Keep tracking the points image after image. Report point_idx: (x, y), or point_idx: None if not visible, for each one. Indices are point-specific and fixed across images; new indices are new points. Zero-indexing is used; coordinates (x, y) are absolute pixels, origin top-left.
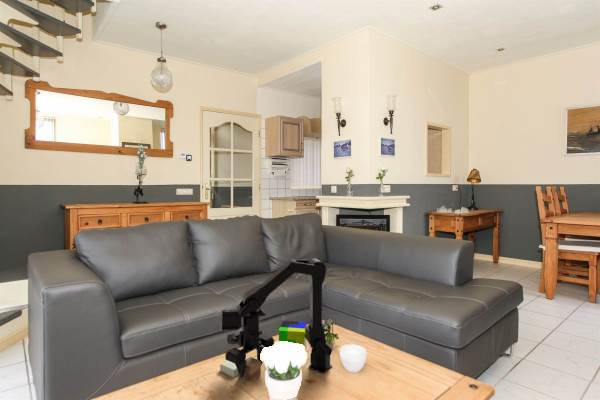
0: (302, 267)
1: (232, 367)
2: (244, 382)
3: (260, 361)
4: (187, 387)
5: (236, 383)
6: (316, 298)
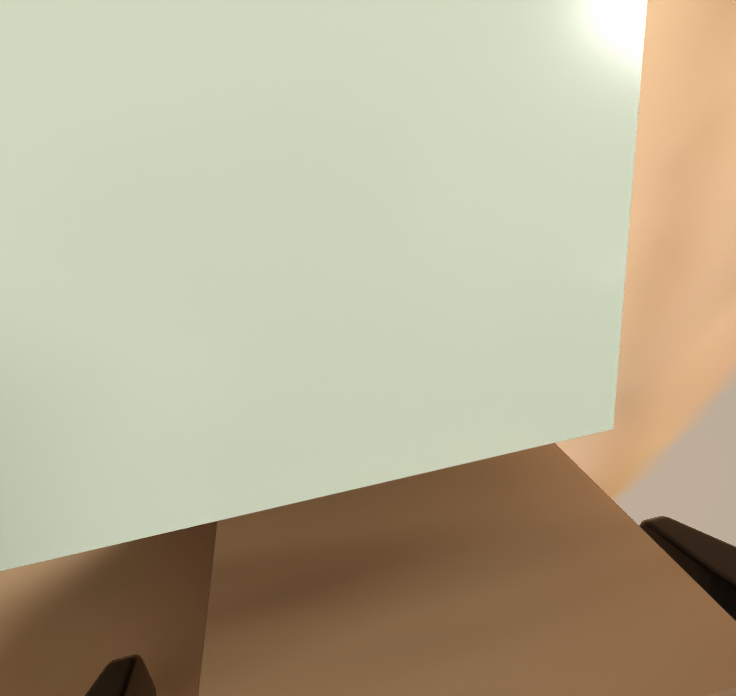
0: None
1: (11, 410)
2: (167, 672)
3: None
4: None
5: (12, 641)
6: None
